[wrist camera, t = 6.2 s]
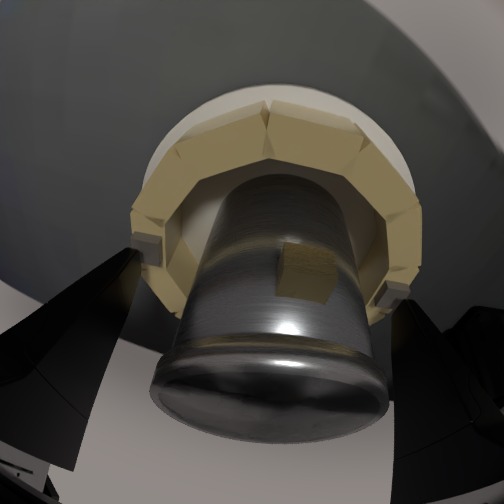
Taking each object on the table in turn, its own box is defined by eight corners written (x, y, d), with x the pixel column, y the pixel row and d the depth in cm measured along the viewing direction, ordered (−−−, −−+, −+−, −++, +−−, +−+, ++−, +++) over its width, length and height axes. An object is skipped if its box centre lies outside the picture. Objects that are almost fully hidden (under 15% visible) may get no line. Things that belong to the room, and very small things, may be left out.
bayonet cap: (321, 298, 13) (326, 449, 8) (205, 277, 13) (164, 428, 8) (375, 177, 9) (455, 363, 4) (219, 142, 9) (123, 317, 4)
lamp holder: (444, 135, 9) (494, 176, 6) (350, 317, 16) (357, 372, 13) (156, 66, 8) (102, 80, 6) (156, 281, 15) (134, 334, 13)
